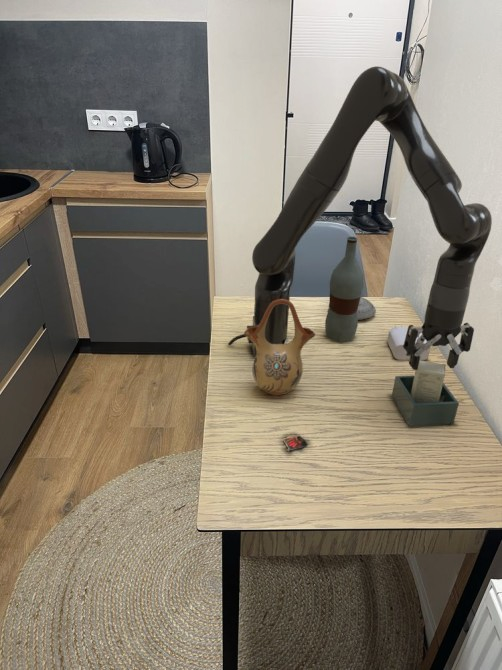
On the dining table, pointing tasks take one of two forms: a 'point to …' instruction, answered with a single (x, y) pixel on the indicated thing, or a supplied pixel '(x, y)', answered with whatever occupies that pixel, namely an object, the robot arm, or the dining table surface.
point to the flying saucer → (365, 309)
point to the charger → (397, 342)
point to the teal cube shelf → (423, 405)
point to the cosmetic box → (428, 382)
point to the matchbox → (294, 442)
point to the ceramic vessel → (278, 355)
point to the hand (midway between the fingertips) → (431, 367)
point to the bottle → (344, 296)
